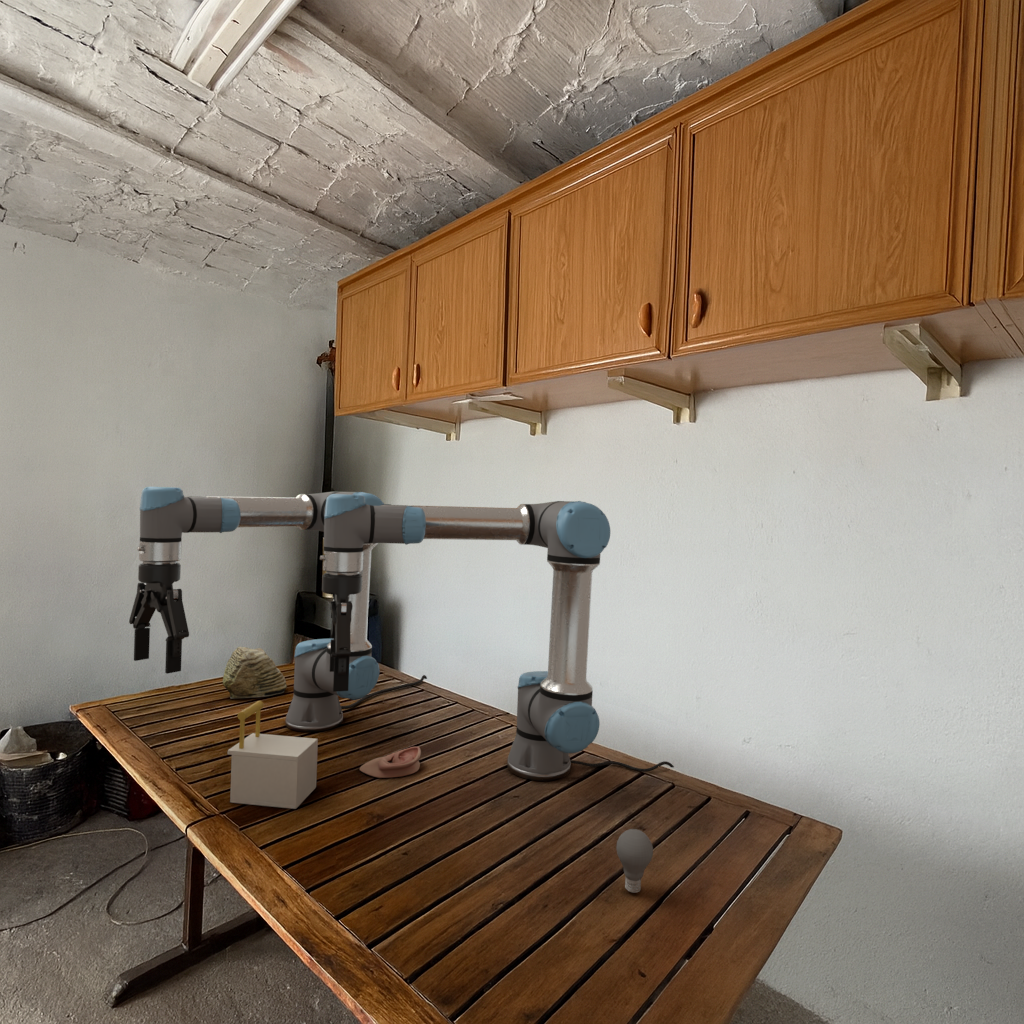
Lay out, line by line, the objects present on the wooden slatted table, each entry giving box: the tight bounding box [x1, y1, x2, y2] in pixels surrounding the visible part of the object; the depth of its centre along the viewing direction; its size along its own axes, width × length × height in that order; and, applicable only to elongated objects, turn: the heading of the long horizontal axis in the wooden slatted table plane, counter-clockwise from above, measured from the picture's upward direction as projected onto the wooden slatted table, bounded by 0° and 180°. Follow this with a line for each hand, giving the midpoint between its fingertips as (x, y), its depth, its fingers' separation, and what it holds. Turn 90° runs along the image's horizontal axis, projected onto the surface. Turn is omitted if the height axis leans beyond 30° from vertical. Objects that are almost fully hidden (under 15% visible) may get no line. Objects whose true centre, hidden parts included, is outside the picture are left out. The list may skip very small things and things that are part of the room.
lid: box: [227, 700, 319, 761], centre depth 134 cm, size 15×10×9 cm, turn 84°
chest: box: [229, 742, 319, 810], centre depth 134 cm, size 14×10×10 cm
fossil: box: [222, 646, 288, 699], centre depth 198 cm, size 9×18×15 cm, turn 132°
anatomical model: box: [359, 746, 422, 779], centre depth 149 cm, size 13×4×12 cm
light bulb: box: [615, 828, 654, 894], centre depth 106 cm, size 6×6×10 cm
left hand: (156, 665), depth 130 cm, fingers open, 13 cm apart
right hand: (338, 680), depth 124 cm, fingers open, 13 cm apart
